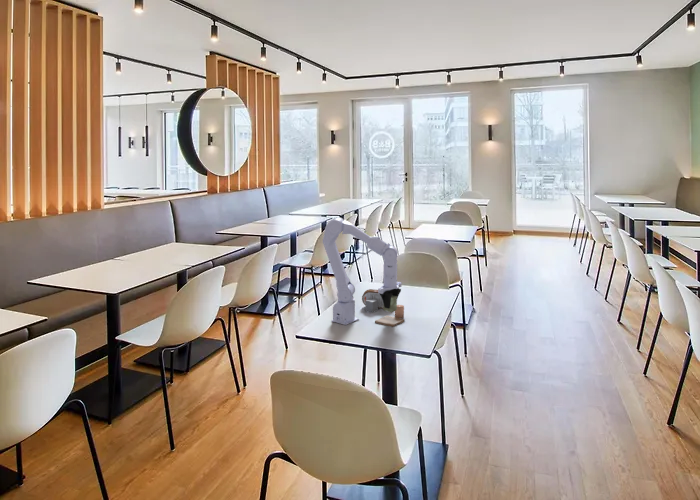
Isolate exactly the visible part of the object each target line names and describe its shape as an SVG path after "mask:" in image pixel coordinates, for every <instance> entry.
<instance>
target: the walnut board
mask: <svg viewBox="0 0 700 500" xmlns="http://www.w3.org/2000/svg"><path fill="white" fill-rule="evenodd" d="M405 321H406V320H405V319H404V318H401V319H400V318H396V317H395V316H390V315H385V316H383V317H381V318H378V319H376V320H374V323H375V324H379V325H382V326H388V327H391V328H393V327H394V328H395V326H398V325H400V324H402V323H405Z"/></svg>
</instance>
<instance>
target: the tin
mask: <svg viewBox="0 0 700 500" xmlns="http://www.w3.org/2000/svg"><path fill="white" fill-rule="evenodd" d="M368 299H375V300H378V309H383V310H384V303H383V300H382V297H381V295H380V294H379V293H378V289H374V288H373V289H370V288H369V289H366V290H365V291H364V292H363V294H362V296H361V300H362V301H361V302H362V303H363V304H364V305H365V307H366V300H368Z"/></svg>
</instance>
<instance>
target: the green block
mask: <svg viewBox="0 0 700 500" xmlns="http://www.w3.org/2000/svg"><path fill="white" fill-rule="evenodd" d="M397 305H398V298H397V296H393V295H392V297H391V301H390V308H385V307H384V309H383V312H388V313H394V312H395V311H396V310H397Z"/></svg>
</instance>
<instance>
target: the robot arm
mask: <svg viewBox="0 0 700 500" xmlns="http://www.w3.org/2000/svg"><path fill="white" fill-rule="evenodd" d="M340 234H342V235H352V236H353V237H355V238H356V239H359V240H360V241H362V242H364V243H366V247H367V248H368V249H369V250H371V251H372V252H374V253H376V254H377V255H379V256H382V258H383V275H382V276H383V277H382V278H383V282H382V284H383V285H381V286H380V287H379V288H378V289H377V290H378V293H379V294H380V295H381V297H382V300H383V303H384V307H385V308H390V301H391V297H392V295H393V296H397V299H398V298H399V295H400V293H401V292H402V288H401V287H402V286H403V285H402V284H403V283H402V282H401V281H398V254H399V253H398V249H397V248H396V247H395V246H394V245H392V244H391V243H390V242H389V243H387V242H386V241H384V240H382V239H381V237H380V236H379V235H378V236H376V235H374V236H370V235H369V234H368V233H366V232H364V231H363V230H362V229H360V228H359V227H357V226H356V225H354V224H353V223H351V222H350V221H349V220H344V218H342V217H339V216H338V217H334V218H333V219H331V220H329V222H328V223H326V226H325V228H324V233H323V239H322V245H323V246H324V250H325V252H326V255H327V258H328V261H329V265H330V267H331V270H332V272H333V276H334V279H335V281H336V282H335V283H336V289H337V294H336V295H337V301H336V303H334V305H333V307H332V319H331V322H333V323H337V324H340V325H341V324H342V325H345V326H346V325H349V324H351V323H354V322H356V321H358V320H360V318H359V317H356V315H355V314H356V308H355V307H356V304H355V303H356V301H355V300H356V298H355V297H354V294H355V292H356V288H355V286H354V284H353V283H352V282H351V279H350V278H349V277H348V275H347V271H346V269H345V266H344V263H343V261H342V258H341V255H340V252H339V248H338V246H337V243H336V241H337V239H338V238H339V235H340Z"/></svg>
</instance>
